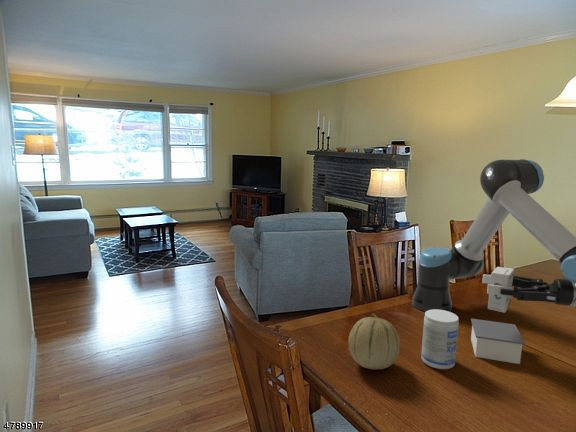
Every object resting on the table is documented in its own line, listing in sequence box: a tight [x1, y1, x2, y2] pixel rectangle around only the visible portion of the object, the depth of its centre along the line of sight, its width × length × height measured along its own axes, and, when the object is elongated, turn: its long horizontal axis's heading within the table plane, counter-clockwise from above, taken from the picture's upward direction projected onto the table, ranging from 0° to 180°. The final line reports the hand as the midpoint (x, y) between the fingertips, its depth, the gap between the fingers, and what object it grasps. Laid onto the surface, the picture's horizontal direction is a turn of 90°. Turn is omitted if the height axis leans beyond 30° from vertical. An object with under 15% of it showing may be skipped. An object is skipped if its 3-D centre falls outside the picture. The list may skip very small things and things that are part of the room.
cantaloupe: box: [348, 313, 401, 370], centre depth 112 cm, size 15×15×15 cm
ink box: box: [487, 266, 515, 313], centre depth 120 cm, size 9×5×12 cm, turn 140°
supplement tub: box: [420, 309, 460, 370], centre depth 115 cm, size 10×10×15 cm
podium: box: [470, 318, 526, 365], centre depth 123 cm, size 13×13×7 cm
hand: (485, 283), depth 121 cm, fingers closed on ink box, 9 cm apart
